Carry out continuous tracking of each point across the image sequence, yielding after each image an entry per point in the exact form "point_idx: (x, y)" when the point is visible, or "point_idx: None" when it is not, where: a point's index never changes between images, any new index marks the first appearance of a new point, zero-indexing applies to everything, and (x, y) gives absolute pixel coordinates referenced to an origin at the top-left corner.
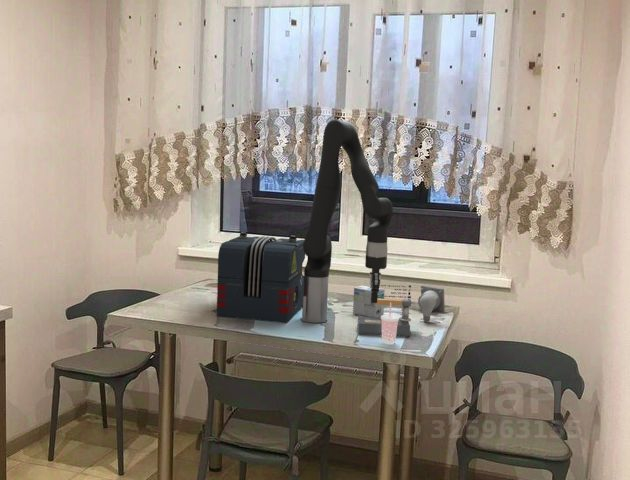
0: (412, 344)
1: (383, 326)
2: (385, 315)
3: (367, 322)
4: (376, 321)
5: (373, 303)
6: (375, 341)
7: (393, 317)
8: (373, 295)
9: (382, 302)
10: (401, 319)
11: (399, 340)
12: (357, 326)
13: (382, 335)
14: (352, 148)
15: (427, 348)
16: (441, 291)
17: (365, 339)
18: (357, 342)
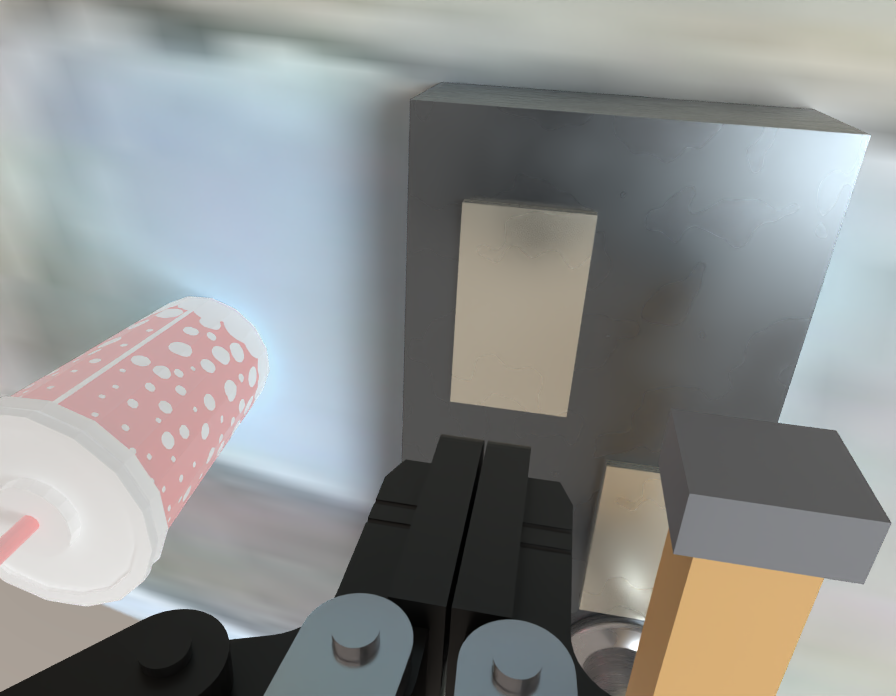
0: (210, 520)
1: (47, 376)
2: (108, 484)
3: (460, 233)
4: (504, 360)
5: (663, 475)
6: (211, 240)
7: (45, 548)
8: (347, 576)
9: (655, 627)
10: (582, 634)
11: (299, 457)
12: (808, 110)
13: (136, 325)
14: None
15: (142, 583)
16: None
17: (256, 143)
18: (117, 31)
